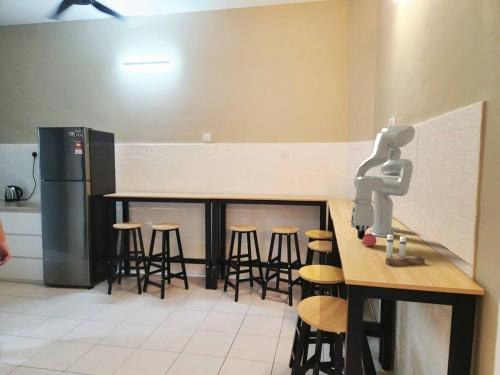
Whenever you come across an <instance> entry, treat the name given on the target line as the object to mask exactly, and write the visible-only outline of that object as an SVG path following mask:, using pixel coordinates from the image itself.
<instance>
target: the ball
mask: <svg viewBox="0 0 500 375" xmlns="http://www.w3.org/2000/svg"><path fill="white" fill-rule="evenodd" d="M362 243H363V244H364V245H365V246H367V247H373V246H375V245H376V244H377V236H374V235H373V234H370V233H365V235H364V237H363V239H362Z"/></svg>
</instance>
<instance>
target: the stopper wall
mask: <svg viewBox="0 0 500 375" xmlns="http://www.w3.org/2000/svg"><path fill="white" fill-rule="evenodd" d="M425 262H426V257H424V256H422V255H417V256H413V255H412V256H405V257H399V256H397V257H393V256H392V257H385V265H387V266H390V267H391V266H404V265H406V266H407V265H420V264H421V265H423V264H424V265H425Z"/></svg>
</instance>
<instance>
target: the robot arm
mask: <svg viewBox="0 0 500 375" xmlns="http://www.w3.org/2000/svg"><path fill="white" fill-rule="evenodd" d="M415 135H416V131H415V127H414V126H412V125H408V124H407V125H389V126H385V127H383V128H382V129H381V130H380V132H378V133H377V135H376V137H375V140H374V143H373V147H372V150H371V153H370V156H369V157H368V158H367V159H365V160H364V161H363V162H362V163H361V164H360V165H359V166H358V168H357V170H356V173H355V175H354V178H353V179H354V180H353V186H354V188H355V198H354V199H352V202H353V203H354V204H353V206H352V209H351V210H352V211H351V218H350V223H351V224H350V226H351V228H355V229H356V231H357V238H358V239H359V240H362V241H363V237H364V235H366V232H367V230H368V229H370V228H372V229H370V230H369V232H368V234H373V235H374V236H375V237H381V238H387V235H394V236H395V233H394V232H399V231H400V227H393V226H392V225H393V210H394V202H393V200H392V198H391V197H390V196H393V197H394V196H395V197H396V196H397V197H404V196H406V195H407V194H408V192H409V189H410V185H411V180H412V176H413V170H414V165H413V162H412V161H411V160H410V159H407V158H401V156H402V150H401V148H403V147H405V146H407V145H408V144H409V143H410V142H412V141H413V140H414V139H415ZM379 166H380V170H379V171H380V173H381V175H383V176H374V175H373V176H372V175H366V174H367V172H369V171H370V170H371V169H374V168H376V167H379ZM372 197H374V198H372ZM372 200H373V202H372ZM372 203H373V204H372Z"/></svg>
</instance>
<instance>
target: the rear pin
mask: <svg viewBox="0 0 500 375" xmlns="http://www.w3.org/2000/svg"><path fill="white" fill-rule="evenodd" d="M407 238H408V237H407V236H402V235H401V236H400V237H399V246H398V247H399V249H398V257H406V250H407Z"/></svg>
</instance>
